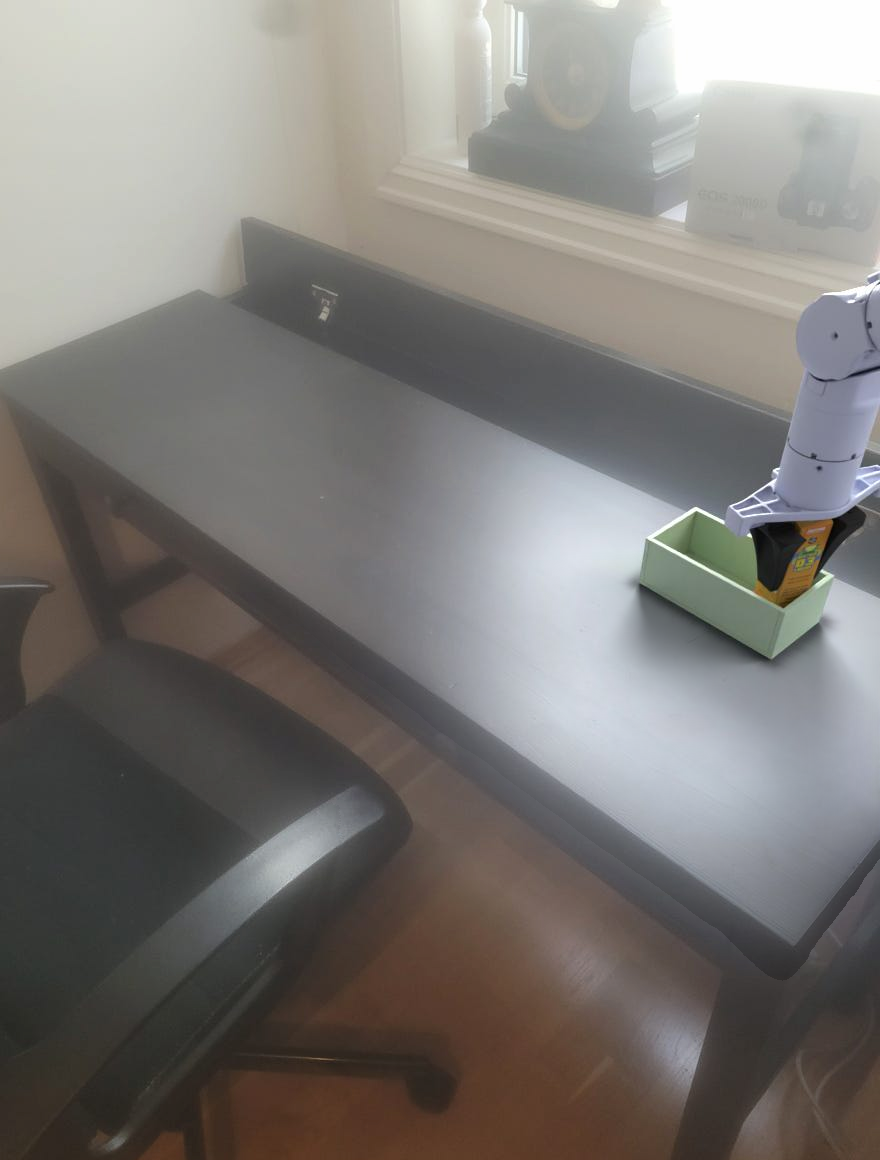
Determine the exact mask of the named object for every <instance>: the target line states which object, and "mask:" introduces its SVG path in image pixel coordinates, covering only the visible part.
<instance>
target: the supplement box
mask: <svg viewBox="0 0 880 1160" xmlns="http://www.w3.org/2000/svg"><path fill="white" fill-rule="evenodd" d="M792 523H794V524H795V527H794V530H796V531H797V532H798V533H799V534H800V535H802V536H803V537H804V538H805V539H806V540H807V541H806V542H805V543H804V544H803V545H802V546H801V547H800V548H799V549H798V551H797V552H796V553H795V555H794V556H793V558H792V560H791V562H790V564H789V566H788V569H787V571H786V574H785V577H784V580H783V582H782V584H781V586H780V587H779V588H778V590H776V591H773V592H770V591H769V590H768V589H767V588H766V587H765V586H764V585H763V584H761V583H760V582H759V581H758V580H757V582H756V586H755V589H754V592H753V593H755V594H757V595H759V596H761V597H763V598H765V599H766V600H768V601H770V602H772V603H774V604H776V605H778V606H779V607H781V608H783V609H784V608H785V607H786V606H788V605H789V604H790V603H792V602H793V601H794V600H795V599H797V598H798V597H799V596H801V595H802V594H803V593H805V592H806V591H807V590H809V588H810V585H811V583H812V580H813V577H814V574H815V572H816V569H817V566H818V563H819V561H820V558H821V555H822V553H823V550H824V547H825V544H826V541H827V539H828V536H829V533H830V531H831V528H832V525H833V521H832V519H826V520H807V521H792Z"/></svg>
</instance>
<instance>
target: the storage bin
mask: <svg viewBox="0 0 880 1160" xmlns="http://www.w3.org/2000/svg"><path fill="white" fill-rule="evenodd" d="M724 523H725V520H723V519H721V518H719V517H717V516H715V515H713V514H711V513H709V512H707V511H705V510H703V509H701V508H699V507H697V506H695V507H693V508H691V509H690V510H688V511H687V512H685V513H683V514H682V515H680V516H679V517H677V518H675V519H673V520H672V521H671V522H669V523H668V524H666V525H664V526H663V527H661V528H660V529H658V530H656V531H655V532H653V533H652V534H650V535H648V536H647V537H645V541H644V548H643V554H642V562H641V568H640V574H639V581H638V582H639V584H640V585H642V586H643V587H645V588H647V589H648V590H651V591H652V592H654V593H656V594H658V595H659V596H661V597H662V598H665V600H668V601H670V602H671V603H673V604H674V605H676V606H678V607H679V608H682V609H683V610H684V611H686V612H688V613H690V614H692V615H694V616H695V617H696V618H699V619H700V620H702V621H703V622H706V623H707V624H709V625H711V626H712V627H714V628H716V629H717V630H719V631H721V632H723V633H725V634H726V635H728V636H729V637H731V638H733V639H735V640H736V641H738V642H739V643H741V644H743V645H744V646H747V647H748V648H750V649H752V650H754V651H755V652H757V653H759V654H761V655H762V656H763V657H766V658H767V659H769V660H773V659H774V658H776V656H778V655H779V654H781V652H783V651H784V650H785V649H787V648H788V647H789V646H790V645H792V644H793V643H794V642H796V641H797V640H798V639H799V638H801V637H802V636H803V635H805V634H806V633H807V632H808V631H809V630H810V629H812V628H813V627H814V626H816V625H817V624H818V623H819V622H820V620H821V617H822V614H823V612H824V608H825V605H826V603H827V599H828V597H829V594H830V591H831V589H832V584H833V582H834V579H835V574H832V573H830V572H828V571H826V570H824V569H822V570H821V571H820V572H819V574H818V575H817V576H816V578H815V579H813V580H812V583H811V585H810V588H809V590H807V591H806V592H805V593H803V594H802V595H801V596H799V597H798V598H797V599H795V600H794V601H793V602H792V603H790V604H789V605H788V606H786V607H785V608H784V609H783V608H781V607H779V606H778V605H776V604H774V603H772V602H770V601H768V600H766V599H765V598H763V597H761V596H759V595H757V594H755V593H753V592H754V589H755V586H756V582H757V560H756V552H755V547H754V542H753V539H752V536H751V533H750V532H749V533H748V535H746V536H743V537H739V538H738V537H737V536H736V535H734V534H733V533H732V532H731V531H730V530H728V528H727V527H726V526H724Z"/></svg>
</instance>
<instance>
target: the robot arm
mask: <svg viewBox="0 0 880 1160" xmlns="http://www.w3.org/2000/svg"><path fill="white" fill-rule="evenodd" d="M866 279H867V280H866V281H867V284H865V285H864V286H860V287H856V288H852V289H849V290H848V289H847V290H845V291H841V292H828V293H822V294H821V295H820V296H819V297H818V298H817V299H816V300H813V301H812V302H811V303H809V304H808V305H807V306H806V307H805V308H804V310H803V311H802V312H801V315H800V316H799V319H798V322H797V324H796V331H795V344H796V345H795V346H796V352H797V355H798V357H799V360H800V362H801V364H802V365H803V367H804V371H803V375H802V378H801V382H800V386H799V390H798V394H797V398H796V401H795V407H794V410H793V413H792V417H791V420H790V425H789V429H788V432H787V437H786V440H785V446H784V449H783V453H782V456H781V460H780V464H779V467H777V468H775V469H773V470H772V472H771V479H772V480H771V481H770V482H768V483H767V484H765V485H764V486H763V487H761V488H759V489H758V490H756V491H755V492H754V493H752V494H750V495H749V496H748V497H747V498H745V499H743V500H741V501H739V502H737V503H734V504H731V505H728V506H727V508H726V509H727V510H726V514H725V518H724V521H725V523H724V526H726V527H727V528H728V530H730V531H731V532H732V533H733V534H734V535H736V536H737V537H738V538H739V537H743V536H746V535H748V533H749V534H751V536H752V539H753V542H754V547H755V552H756V560H757V580H758V581H759V582H760V583H761V584H763V585H764V586H765V587H766V588H767V589H768V590H769V591H770V592H773V591H776V590H778V588H779V587H780V586H781V584H782V582H783V580H784V577H785V574H786V571H787V569H788V566H789V564H790V562H791V560H792V558H793V556H794V555H795V553H796V552H797V551H798V549H799V548H800V547H801V546H802V545H803V544H804V543H805V542H806V541H807V540H806V539H805V538H804V537H803V536H802V535H800V534H799V533H798V532H797V531H796V530H794V527H795V524H794V523H792V521H807V520H826V519H832V521H833V525H832V528H831V531H830V533H829V536H828V539H827V541H826V544H825V547H824V550H823V553H822V555H821V558H820V561H819V563H818V566H817V569H816V572H815V574H814V577H813V579H815V578H816V576H817V575H818V574H819V572H820V571H821V570H823V569H824V567H825V566H826V565H827V563H828V561H829V560H830V559H831V557H832V556H833V555H834V554H835V552H836V551H837V550H838V548H839V547H840V546H841V545H842V544H843V543H844V542H845V541H846V540H847V539H848V538H849V537H850V536H852V535H853V534H854V533H855V532H857V531H858V530H859V529H861V528H862V527H864V525H865V522H866V519H867V514H866V513H865V511H864V510H863V509H861V508H860V507H858V506H857V505H859V503H860V502H862V501H863V500H864V499H866V498H867V497H869V496H870V495H872V496H873V497H875V498H878V499H879V498H880V465H878V464H875V465H870V466H864V467H861V464H862V462H863V459H864V456H865V453H866V450H867V446H868V443H869V441H870V437H871V433H872V431H873V429H874V428H873V427H874V424H875V422H876V418H877V415H878V413H879V409H880V270H879V271H877V272H874V273H872V274H869V275H868V276H867V278H866Z"/></svg>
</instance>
